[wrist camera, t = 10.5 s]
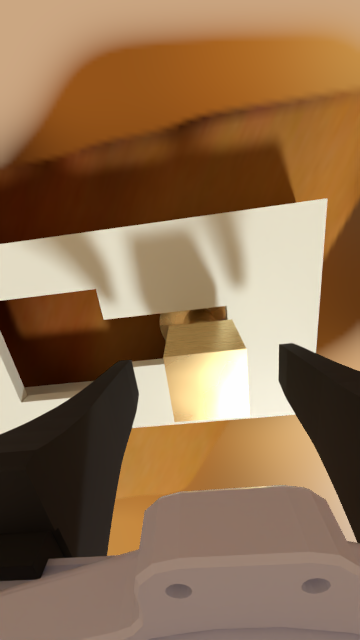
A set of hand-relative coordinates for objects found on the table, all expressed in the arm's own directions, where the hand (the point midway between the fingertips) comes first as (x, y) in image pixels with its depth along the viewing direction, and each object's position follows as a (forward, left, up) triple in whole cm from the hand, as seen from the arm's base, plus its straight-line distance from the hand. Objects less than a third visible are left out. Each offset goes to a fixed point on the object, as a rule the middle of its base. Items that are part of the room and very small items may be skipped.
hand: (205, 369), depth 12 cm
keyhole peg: (0, 0, -8) cm, 8 cm away
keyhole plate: (-5, 0, -8) cm, 9 cm away
